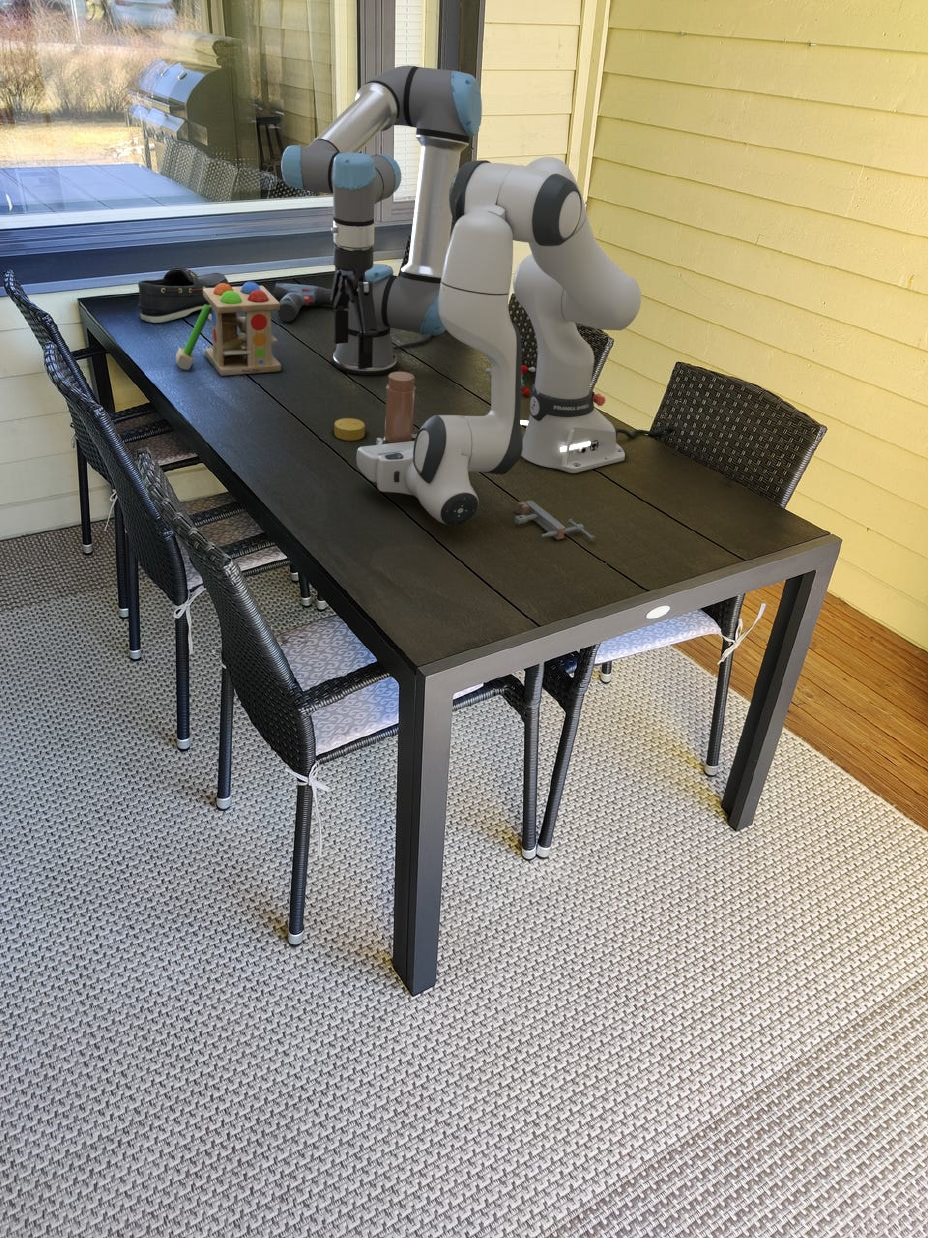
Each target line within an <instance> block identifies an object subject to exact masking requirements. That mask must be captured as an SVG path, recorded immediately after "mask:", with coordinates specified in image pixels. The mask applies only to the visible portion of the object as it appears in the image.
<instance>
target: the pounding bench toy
mask: <svg viewBox="0 0 928 1238" xmlns="http://www.w3.org/2000/svg"><path fill="white" fill-rule="evenodd" d="M203 296H204V297H205V299H206V300H207V301H208V302H209V304H210V305H211V307H210V306H208V305H204V307H203V309H201V312H200V313H199V316H198V318H197V320H196V322H195V324H194V327H193V329H192V331H191V332H190V333H191V334H190V336H189V338H188V340H187V343H186V344H185V347H184V348H182V347H180V346H179V347H178V349H177V351H176V354H175V357H174V358H175V362H176V365H177V366H178V368H179V369H182V370H185V371H189V370H190V369H191V367H192V365H193V363H194V356H193V351H194V348H195V347H196V345H197V342H198V340H199V337H200V336H201V333H202V332H203V329H204V326H205V325H206V322H207V320H209V321H210V322H211V336H212V337H211V338H212V339H211V340H212V348H205V349H204V352H205V353H204V355H205V357H206V359H208V361H209V363H210V364H211V365H212V366H213V367H214V369H215V370H216V371H217V372H218V374H219V375H220V376H222V377H223V376H234V375H235V376H236V375H246V374H247V375H250V374H262V373H275V372H281V370H282V364H281V363H280V362H279V360H278V359H277V358H276V357H275V356H274V355H273V348H272V347H273V345H272V344H276V343H278V342H279V341H278V339H277V338H276V337H275V336H274V334H272V311H278V310H280V302H278V301H277V300H276V299H275V296H273V295H272V294H271V293H270V292H269V290H268V289H267V288H266V287H264V285H259V284H257V283H256V282H255V281H247V282H245V283H244V284H243V285H242V286H232V285H230V284H229V285H228V284H226V283H221V284H218V285H217V286H216V287H215V288H204V289H203ZM238 313H244V314H245V315H244V316H238ZM238 329H239V331H240V333H239V334H238Z"/></svg>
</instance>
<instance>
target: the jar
mask: <svg viewBox="0 0 928 1238" xmlns="http://www.w3.org/2000/svg"><path fill="white" fill-rule="evenodd" d="M387 378H388V382H387V384H386V386H385V409H384V410H385V412H384V437H383V438H385V439H386V440H387V444H390V443H399V442H408V441H413V434H414V424H415V422H414V421H415V405H416V390H417V389H416V387H417V386H416V385H415V382H416V379H415V376H414V374H412V373H411V372H407V371H392V372H389V373H388V375H387Z"/></svg>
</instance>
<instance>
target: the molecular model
mask: <svg viewBox="0 0 928 1238" xmlns="http://www.w3.org/2000/svg"><path fill="white" fill-rule="evenodd" d="M527 371H529V372H531V373H536V367H534V366H531V367H527V366H526V365H522V373H521V392H522V393H523V396H525V397H528V396H529V395H531V390H530V389H528V388H527V387H526V385H525V384H524V380H523V376H524V374H525V373H526V372H527ZM485 373H486V374H490V373H492V370H491V367H487V368H486V369H485Z"/></svg>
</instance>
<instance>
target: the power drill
mask: <svg viewBox="0 0 928 1238" xmlns="http://www.w3.org/2000/svg"><path fill="white" fill-rule="evenodd" d="M331 291H332V288H325V287H321V286H316V285H307V284H297V283H281V282H276V283H275V285H274V298H275V299H276V300H277V301H278V302H279V303H280V310H277V315H278V318H279V319H280V320H281V321H284V322H292V321H293V320H295V318H296V317H297V316H298V314H299V312H300V310H301V309H302V307H303V306H306V307H309V306H312V307H313V306H333V304H331V303H330V296H331ZM335 297H336V296H335Z"/></svg>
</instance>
